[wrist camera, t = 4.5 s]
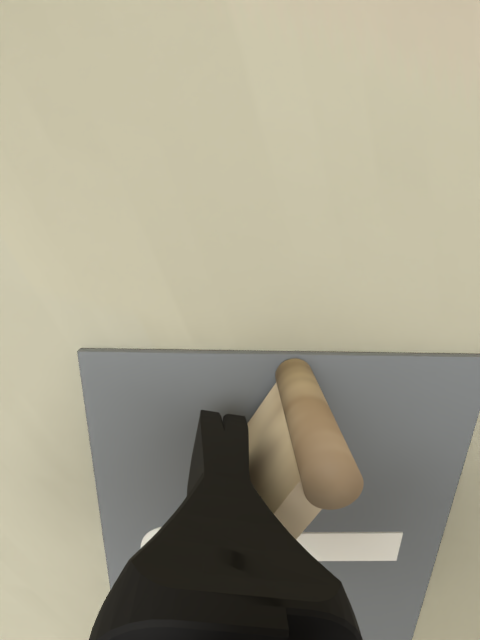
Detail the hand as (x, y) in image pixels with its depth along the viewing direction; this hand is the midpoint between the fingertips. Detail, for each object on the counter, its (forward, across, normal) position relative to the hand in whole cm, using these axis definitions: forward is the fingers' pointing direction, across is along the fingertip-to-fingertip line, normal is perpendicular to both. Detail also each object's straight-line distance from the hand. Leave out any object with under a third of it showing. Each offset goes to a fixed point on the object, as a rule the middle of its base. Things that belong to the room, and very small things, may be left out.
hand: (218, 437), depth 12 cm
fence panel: (+2, -1, +2) cm, 3 cm away
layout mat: (+2, -4, +7) cm, 8 cm away
